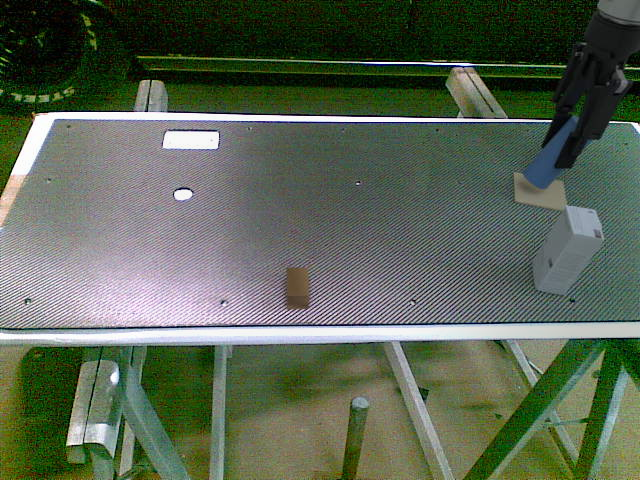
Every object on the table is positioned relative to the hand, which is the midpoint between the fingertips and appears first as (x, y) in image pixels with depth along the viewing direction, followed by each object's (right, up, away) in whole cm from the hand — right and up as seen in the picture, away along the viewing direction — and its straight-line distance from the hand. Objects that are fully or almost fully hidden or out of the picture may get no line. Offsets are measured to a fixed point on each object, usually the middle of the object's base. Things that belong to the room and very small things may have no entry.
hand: (555, 157), depth 81 cm
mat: (0, -5, +5) cm, 8 cm away
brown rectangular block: (-44, -22, -15) cm, 51 cm away
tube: (+2, +1, +1) cm, 3 cm away
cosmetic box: (-6, -20, -10) cm, 23 cm away
